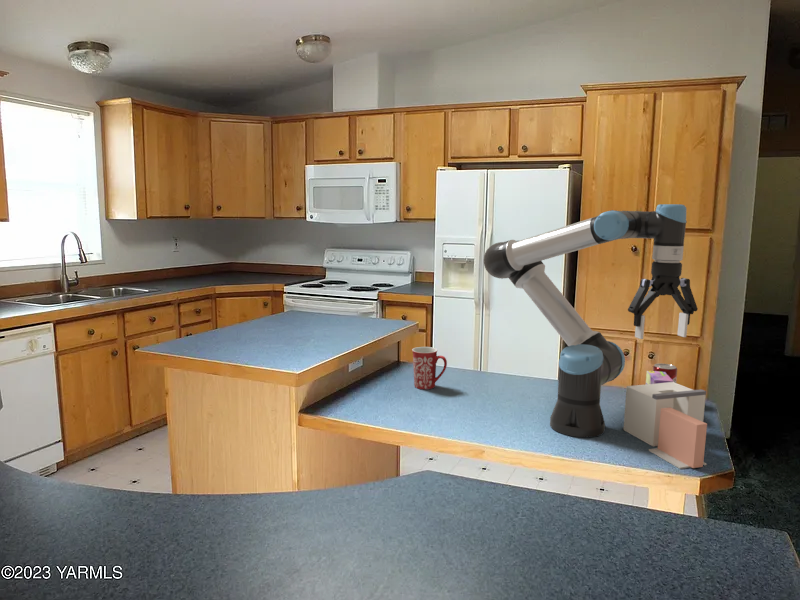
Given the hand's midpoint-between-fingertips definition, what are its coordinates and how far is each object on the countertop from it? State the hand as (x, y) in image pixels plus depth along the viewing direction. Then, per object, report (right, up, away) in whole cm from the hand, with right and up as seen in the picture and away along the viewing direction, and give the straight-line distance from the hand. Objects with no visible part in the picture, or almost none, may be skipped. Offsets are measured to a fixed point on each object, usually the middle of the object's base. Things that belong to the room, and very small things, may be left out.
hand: (660, 337), depth 158 cm
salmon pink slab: (-2, -30, -15) cm, 33 cm away
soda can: (+14, -23, +29) cm, 40 cm away
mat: (-2, -30, -14) cm, 33 cm away
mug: (-63, -21, +42) cm, 78 cm away
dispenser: (+1, -28, +1) cm, 28 cm away
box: (+8, -25, +19) cm, 32 cm away
